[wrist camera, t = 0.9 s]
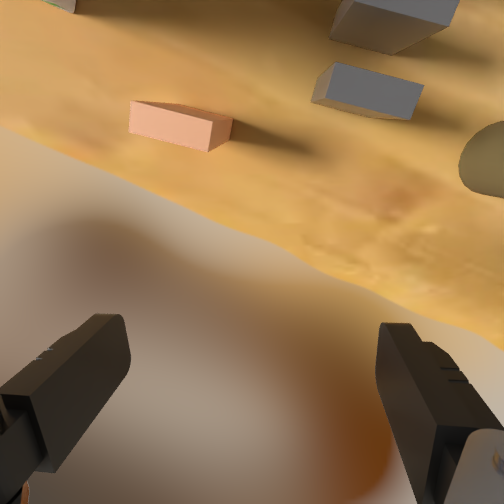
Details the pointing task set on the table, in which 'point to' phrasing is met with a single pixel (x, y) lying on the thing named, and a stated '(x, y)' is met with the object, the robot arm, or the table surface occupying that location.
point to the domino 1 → (179, 125)
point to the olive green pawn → (484, 161)
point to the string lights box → (63, 4)
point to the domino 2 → (390, 22)
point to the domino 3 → (366, 92)
